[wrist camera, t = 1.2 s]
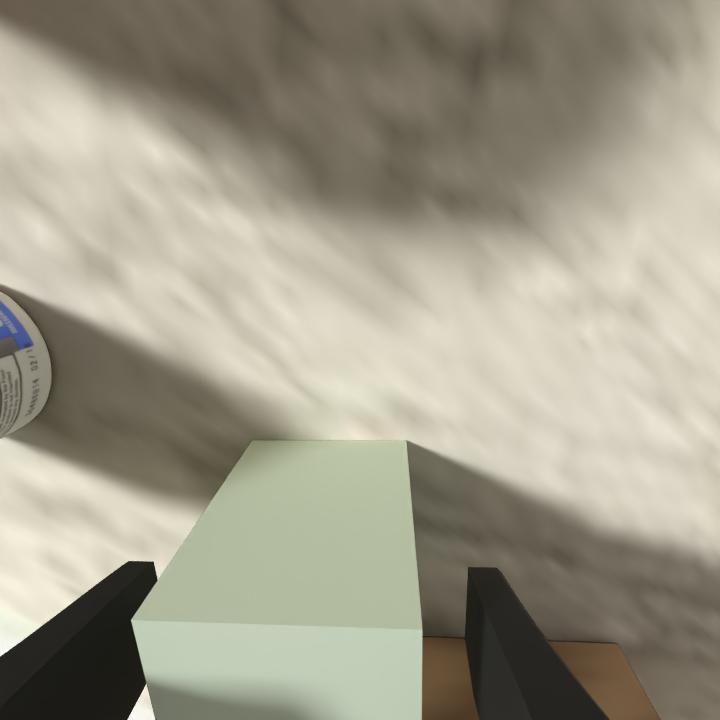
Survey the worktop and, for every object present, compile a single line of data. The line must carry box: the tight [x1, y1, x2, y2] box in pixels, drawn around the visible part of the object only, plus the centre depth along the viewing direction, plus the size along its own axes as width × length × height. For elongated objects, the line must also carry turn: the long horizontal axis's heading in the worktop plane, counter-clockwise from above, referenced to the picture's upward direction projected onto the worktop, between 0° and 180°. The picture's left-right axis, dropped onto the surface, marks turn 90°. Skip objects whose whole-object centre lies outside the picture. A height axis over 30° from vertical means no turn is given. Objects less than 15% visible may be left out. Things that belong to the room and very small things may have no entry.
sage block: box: [131, 440, 422, 720], centre depth 10 cm, size 4×4×6 cm
